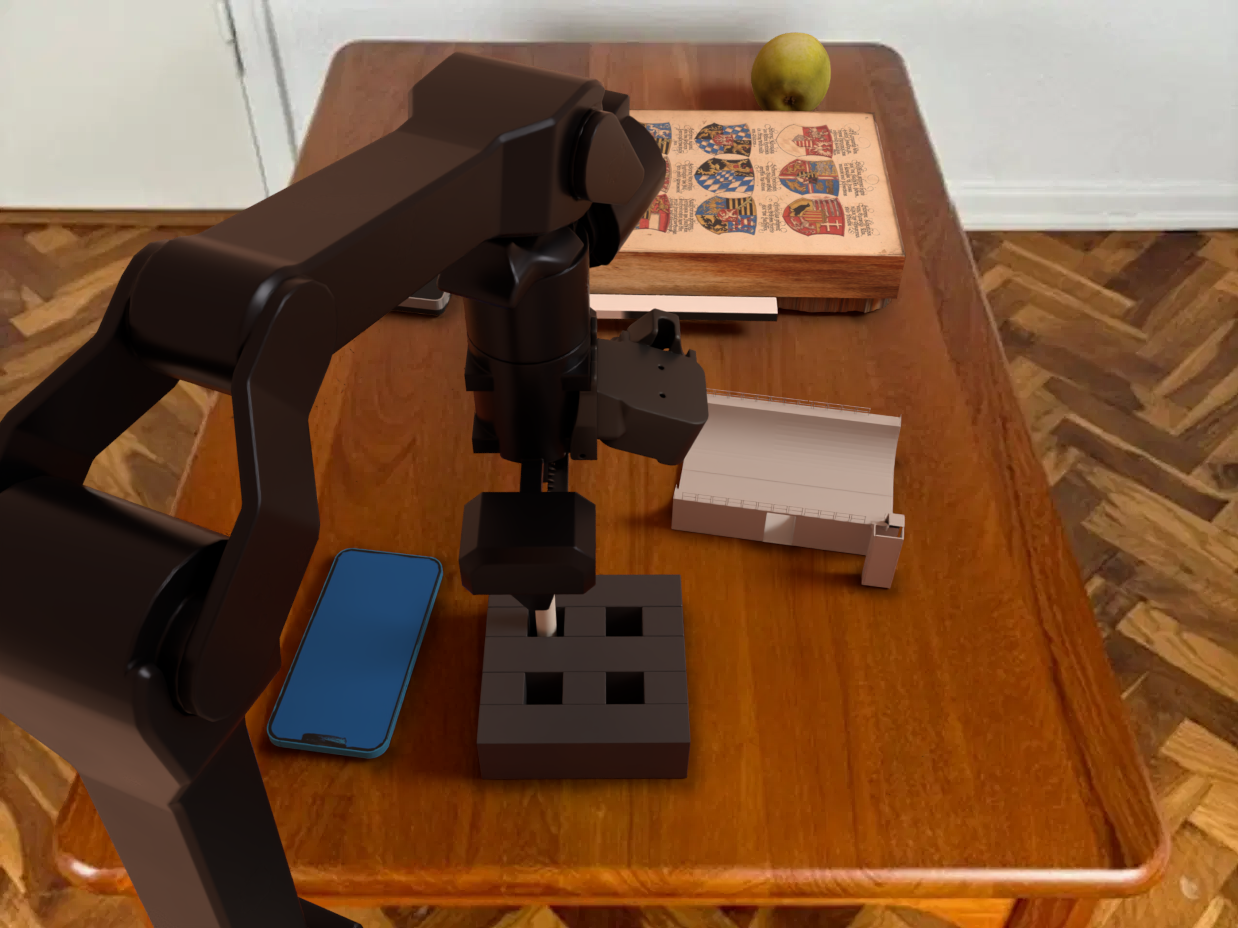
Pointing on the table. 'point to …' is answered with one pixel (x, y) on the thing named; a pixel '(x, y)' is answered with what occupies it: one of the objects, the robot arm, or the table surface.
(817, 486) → the skate ramp
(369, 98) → the table surface
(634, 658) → the pen stand
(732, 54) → the table surface
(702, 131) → the book
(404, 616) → the smartphone
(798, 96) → the apple
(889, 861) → the table surface
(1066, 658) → the table surface
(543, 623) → the stylus
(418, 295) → the external hard drive
